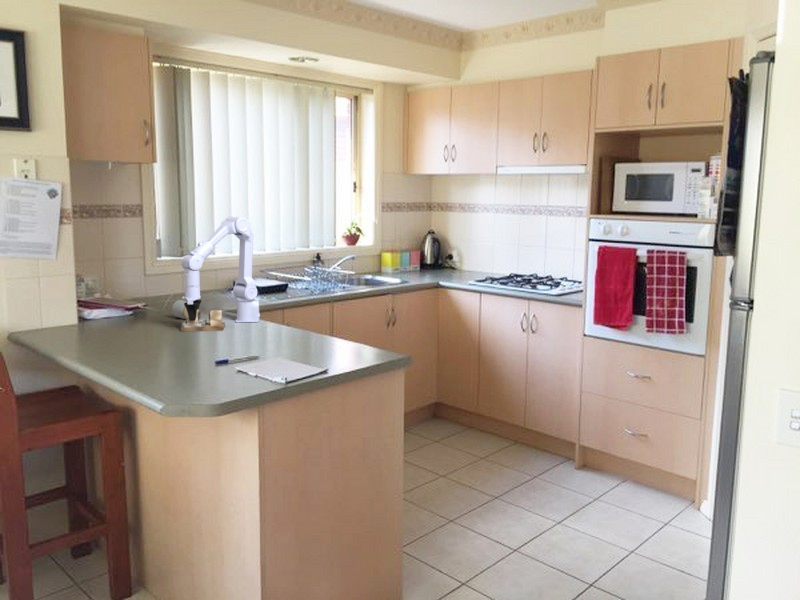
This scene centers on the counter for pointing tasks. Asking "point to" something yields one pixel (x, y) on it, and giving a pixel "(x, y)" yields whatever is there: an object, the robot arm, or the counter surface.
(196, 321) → the tan square block
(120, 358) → the counter surface
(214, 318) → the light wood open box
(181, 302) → the ceramic mug
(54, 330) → the counter surface
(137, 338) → the counter surface
